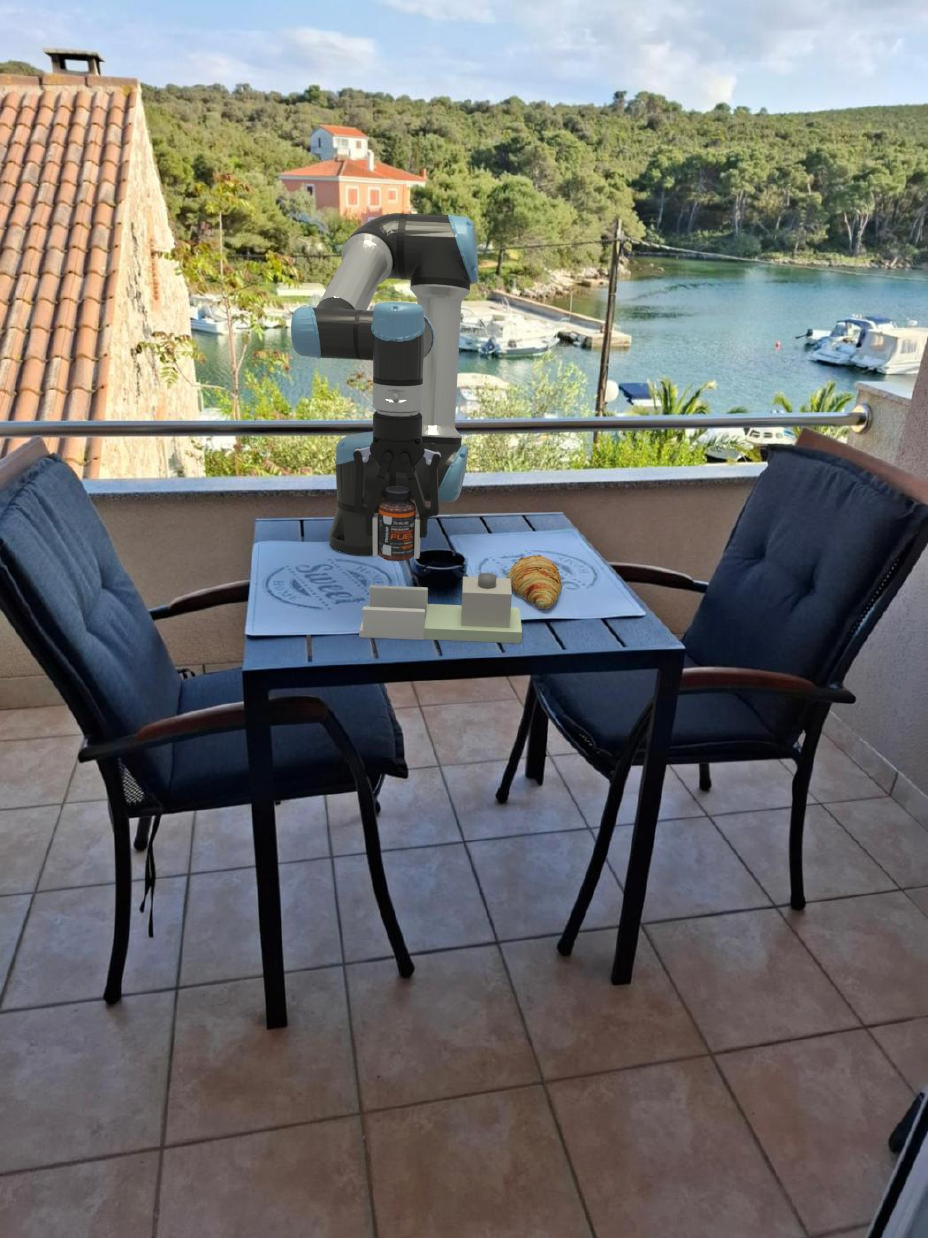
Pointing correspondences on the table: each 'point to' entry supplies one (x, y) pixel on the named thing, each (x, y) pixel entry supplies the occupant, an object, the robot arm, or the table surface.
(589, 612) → the table surface
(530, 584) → the croissant
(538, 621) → the table surface
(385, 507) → the supplement bottle
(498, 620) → the cream block stand
